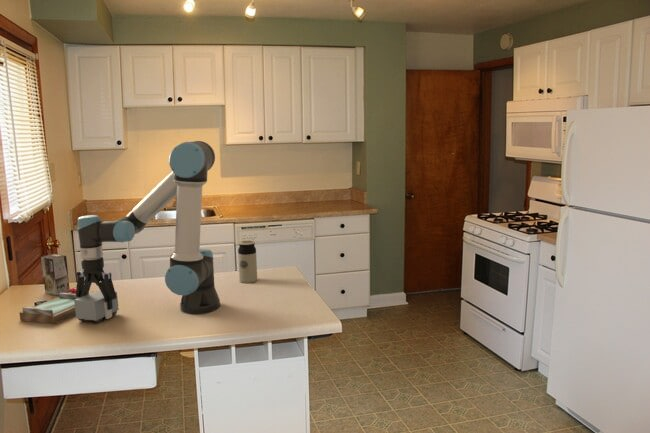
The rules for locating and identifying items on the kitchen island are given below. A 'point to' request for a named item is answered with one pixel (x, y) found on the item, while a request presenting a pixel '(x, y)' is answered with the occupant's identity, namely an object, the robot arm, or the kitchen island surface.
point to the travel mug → (247, 261)
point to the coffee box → (55, 274)
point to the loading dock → (51, 310)
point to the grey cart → (93, 307)
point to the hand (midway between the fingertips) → (98, 316)
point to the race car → (72, 291)
